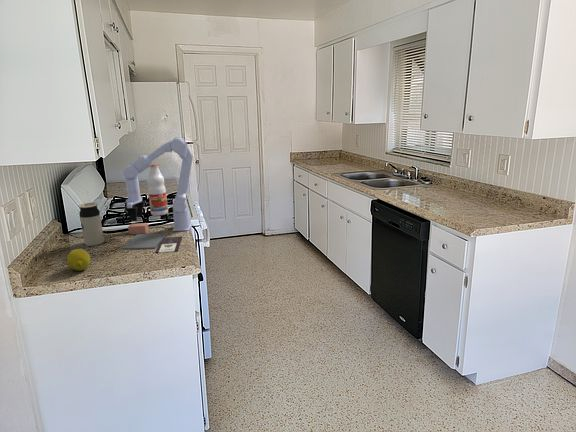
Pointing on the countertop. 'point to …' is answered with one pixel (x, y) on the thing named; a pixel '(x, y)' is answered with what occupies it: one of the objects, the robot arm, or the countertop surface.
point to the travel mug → (91, 224)
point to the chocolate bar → (169, 244)
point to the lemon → (78, 259)
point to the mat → (145, 241)
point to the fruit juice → (157, 191)
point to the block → (138, 228)
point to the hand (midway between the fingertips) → (137, 218)
